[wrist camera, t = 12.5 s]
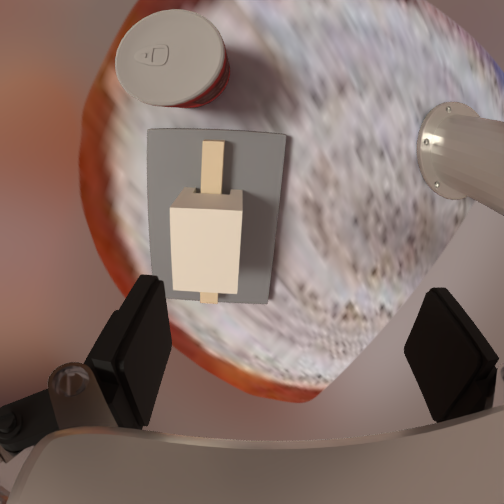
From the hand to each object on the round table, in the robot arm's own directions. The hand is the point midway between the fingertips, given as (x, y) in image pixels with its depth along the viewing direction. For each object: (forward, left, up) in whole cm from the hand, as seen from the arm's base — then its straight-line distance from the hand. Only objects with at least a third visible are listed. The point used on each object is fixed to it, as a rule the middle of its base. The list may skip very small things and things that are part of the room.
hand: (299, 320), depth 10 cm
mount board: (+5, +5, -24) cm, 25 cm away
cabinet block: (+5, +6, -23) cm, 24 cm away
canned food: (+8, -11, -25) cm, 28 cm away
